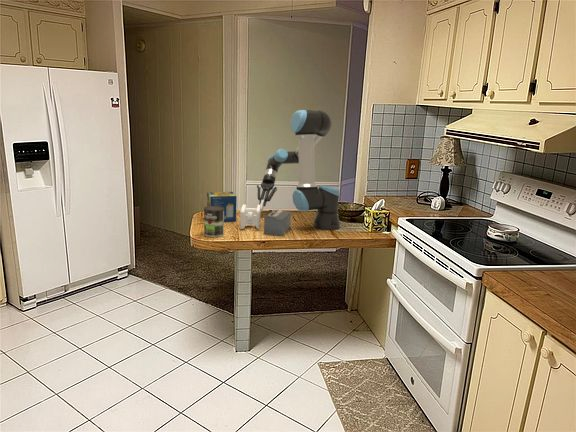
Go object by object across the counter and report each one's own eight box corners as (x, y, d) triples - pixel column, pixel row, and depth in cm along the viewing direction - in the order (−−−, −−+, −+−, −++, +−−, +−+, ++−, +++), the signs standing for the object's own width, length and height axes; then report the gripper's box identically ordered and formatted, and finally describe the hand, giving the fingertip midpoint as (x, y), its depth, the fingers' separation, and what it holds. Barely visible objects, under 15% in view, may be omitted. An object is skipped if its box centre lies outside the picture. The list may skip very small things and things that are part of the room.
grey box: (290, 227, 248) (291, 210, 245) (282, 236, 231) (282, 218, 228) (273, 225, 250) (273, 208, 248) (263, 233, 233) (264, 216, 231)
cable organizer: (259, 231, 238) (259, 210, 235) (239, 230, 238) (239, 209, 235) (260, 223, 252) (260, 203, 249) (241, 222, 252) (242, 203, 249)
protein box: (206, 218, 258) (206, 192, 254) (232, 216, 264) (232, 191, 260) (210, 223, 249) (209, 196, 245) (236, 221, 254) (237, 195, 250)
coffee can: (218, 238, 223) (218, 211, 219) (200, 235, 226) (200, 209, 222) (227, 232, 233) (227, 206, 229) (209, 230, 235) (209, 204, 232)
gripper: (280, 182, 275) (272, 214, 264) (260, 180, 278) (251, 212, 267) (278, 175, 269) (270, 207, 257) (258, 173, 272) (249, 205, 260)
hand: (260, 210), depth 262 cm, fingers closed
